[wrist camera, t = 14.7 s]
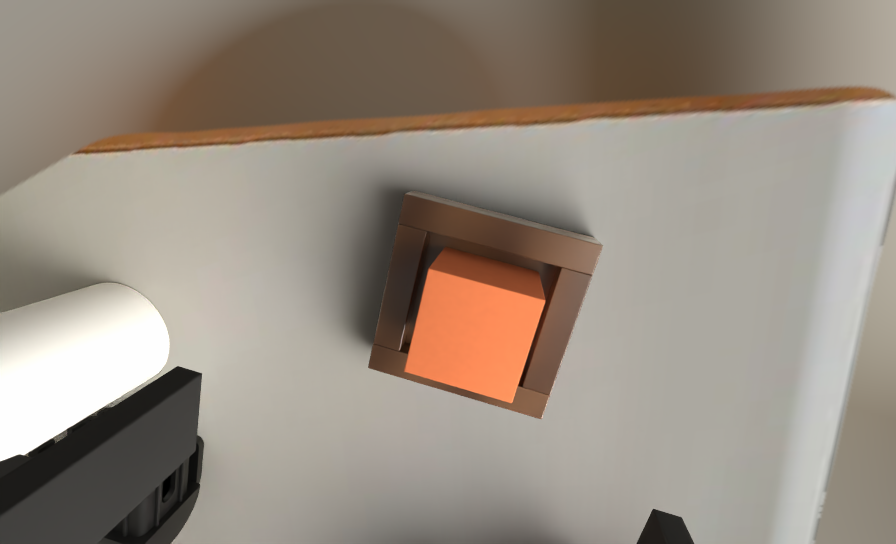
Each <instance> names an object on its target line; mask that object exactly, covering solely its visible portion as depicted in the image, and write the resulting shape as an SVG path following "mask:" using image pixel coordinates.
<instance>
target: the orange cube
mask: <svg viewBox="0 0 896 544" xmlns="http://www.w3.org/2000/svg"><path fill="white" fill-rule="evenodd" d="M544 304H545V297H544V293H543V288H542V284H541V280H540V275H539V272H537V271H533V270H529V269H526V268H522V267H518V266H515V265H511V264H507V263H503V262H500V261H496V260H492V259H489V258H485V257H481V256H478V255H474V254H470V253H466V252H463V251H459V250H455V249H452V248H448V247H445V248H444V249H443V250H442V252H441V253H440V254H439V256H438V257H437V258H436V259H435V261H434V262H433V263H432V265H431V266H430V267H429V269H428V272H427V276H426V280H425V285H424V289H423V293H422V297H421V301H420V306H419V310H418V314H417V318H416V323H415V327H414V331H413V335H412V339H411V344H410V348H409V352H408V356H407V361H406V365H405V369H404V371H405V372H408V373H411V374H414V375H418V376H421V377H424V378H428V379H431V380H435V381H438V382H441V383H445V384H448V385H451V386H455V387H458V388H462V389H465V390H468V391H472V392H475V393H479V394H482V395H485V396H489V397H492V398H495V399H499V400H502V401H506V402H509V403H512V402H513V398H514V395H515V392H516V389H517V386H518V383H519V380H520V377H521V374H522V371H523V368H524V365H525V362H526V359H527V356H528V353H529V349H530V346H531V343H532V340H533V337H534V334H535V331H536V328H537V325H538V322H539V319H540V316H541V313H542V310H543V307H544Z"/></svg>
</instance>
